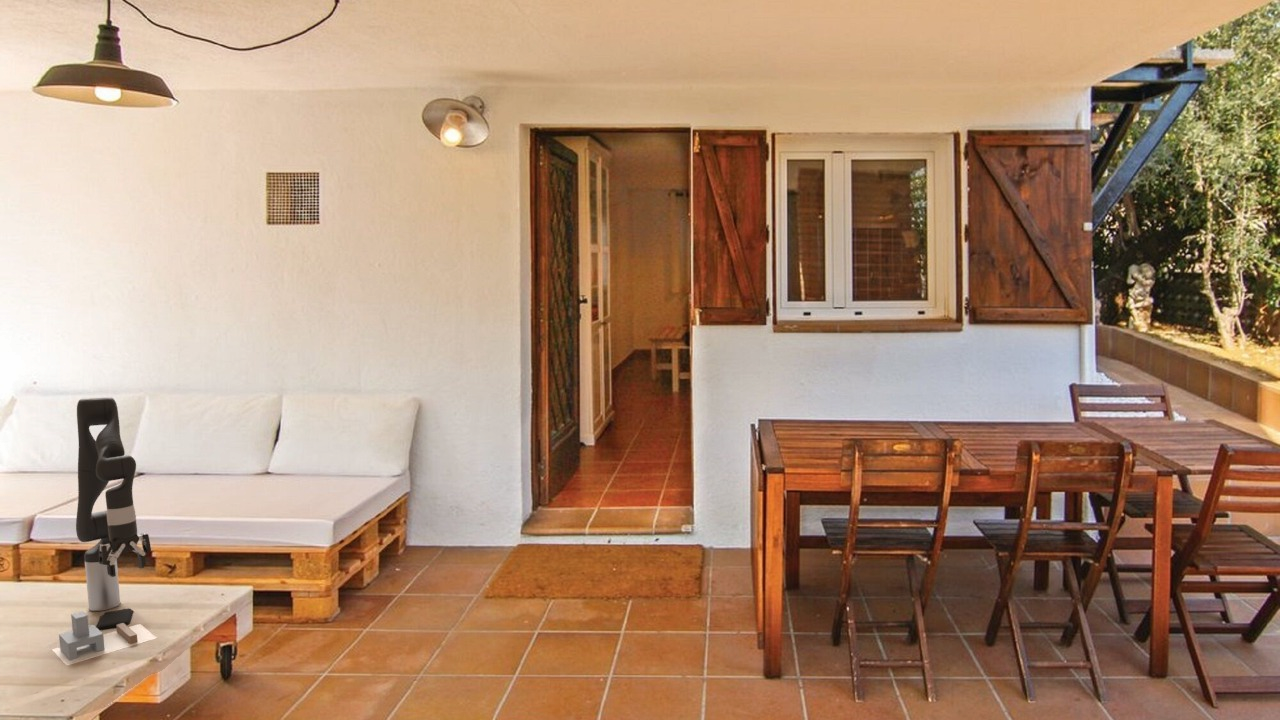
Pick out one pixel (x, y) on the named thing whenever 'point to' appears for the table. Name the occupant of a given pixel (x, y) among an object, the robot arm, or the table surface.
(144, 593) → the table surface
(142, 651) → the table surface
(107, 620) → the carrying case or bag
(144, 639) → the board
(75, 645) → the block
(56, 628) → the table surface
